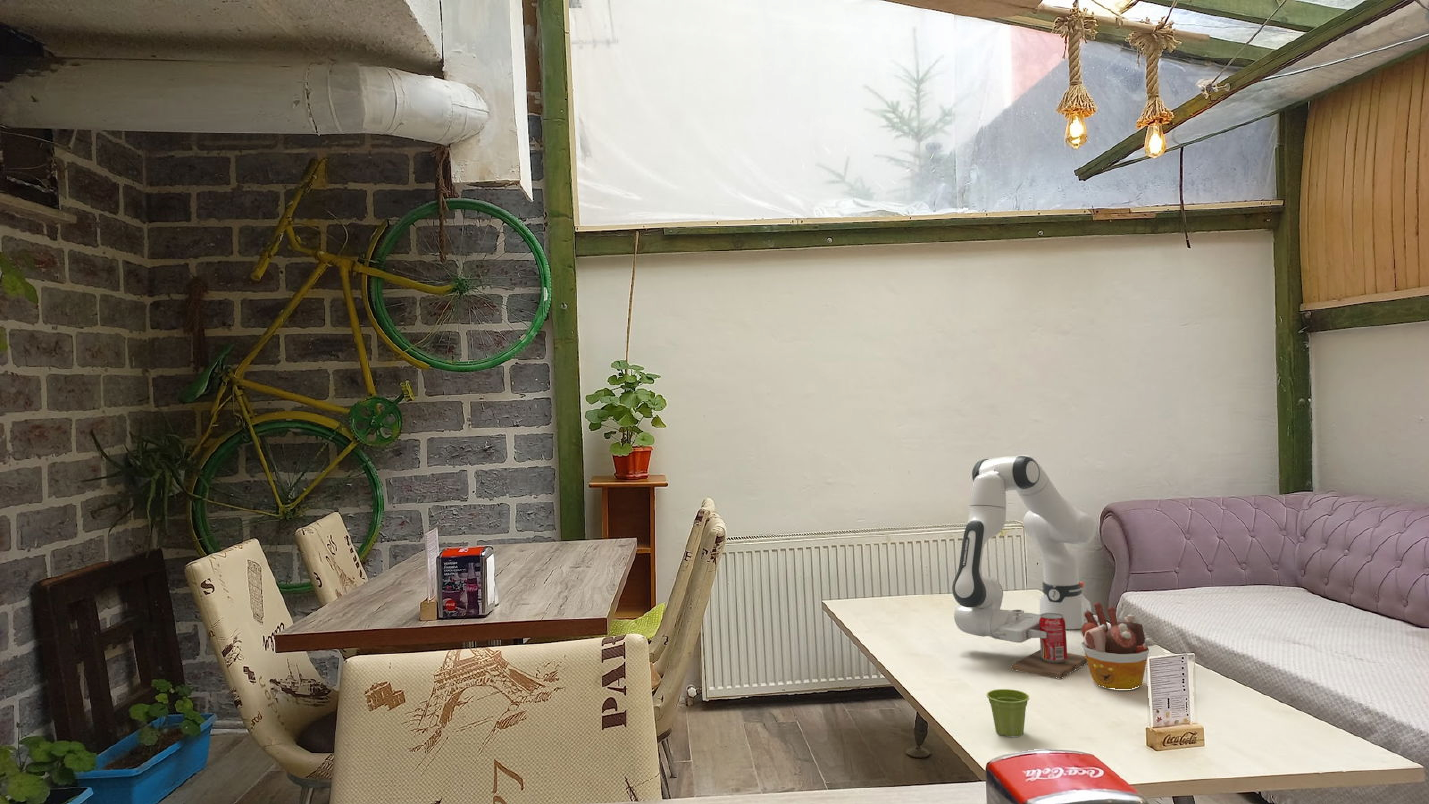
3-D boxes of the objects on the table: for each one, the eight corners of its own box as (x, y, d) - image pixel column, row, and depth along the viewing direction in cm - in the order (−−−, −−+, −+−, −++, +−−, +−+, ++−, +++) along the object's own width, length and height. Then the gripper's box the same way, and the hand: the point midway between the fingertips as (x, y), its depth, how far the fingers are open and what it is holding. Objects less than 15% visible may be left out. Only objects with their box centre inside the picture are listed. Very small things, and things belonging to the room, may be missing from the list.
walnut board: (1042, 653, 260) (1042, 648, 260) (1089, 661, 250) (1089, 656, 250) (1011, 669, 246) (1011, 664, 246) (1060, 679, 236) (1059, 673, 236)
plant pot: (981, 726, 204) (980, 690, 204) (1020, 723, 205) (1018, 687, 205) (998, 741, 195) (996, 703, 195) (1038, 738, 195) (1036, 700, 195)
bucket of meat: (1166, 695, 220) (1162, 617, 220) (1101, 697, 220) (1097, 619, 220) (1129, 671, 240) (1126, 599, 240) (1070, 673, 240) (1066, 602, 240)
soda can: (1073, 662, 245) (1070, 616, 245) (1051, 665, 243) (1049, 619, 243) (1056, 655, 252) (1054, 611, 252) (1035, 658, 250) (1033, 613, 250)
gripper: (989, 621, 250) (1035, 629, 240) (1021, 608, 264) (1066, 614, 254) (990, 643, 250) (1036, 651, 240) (1022, 628, 264) (1067, 635, 254)
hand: (1052, 632), depth 247 cm, fingers open, 5 cm apart
